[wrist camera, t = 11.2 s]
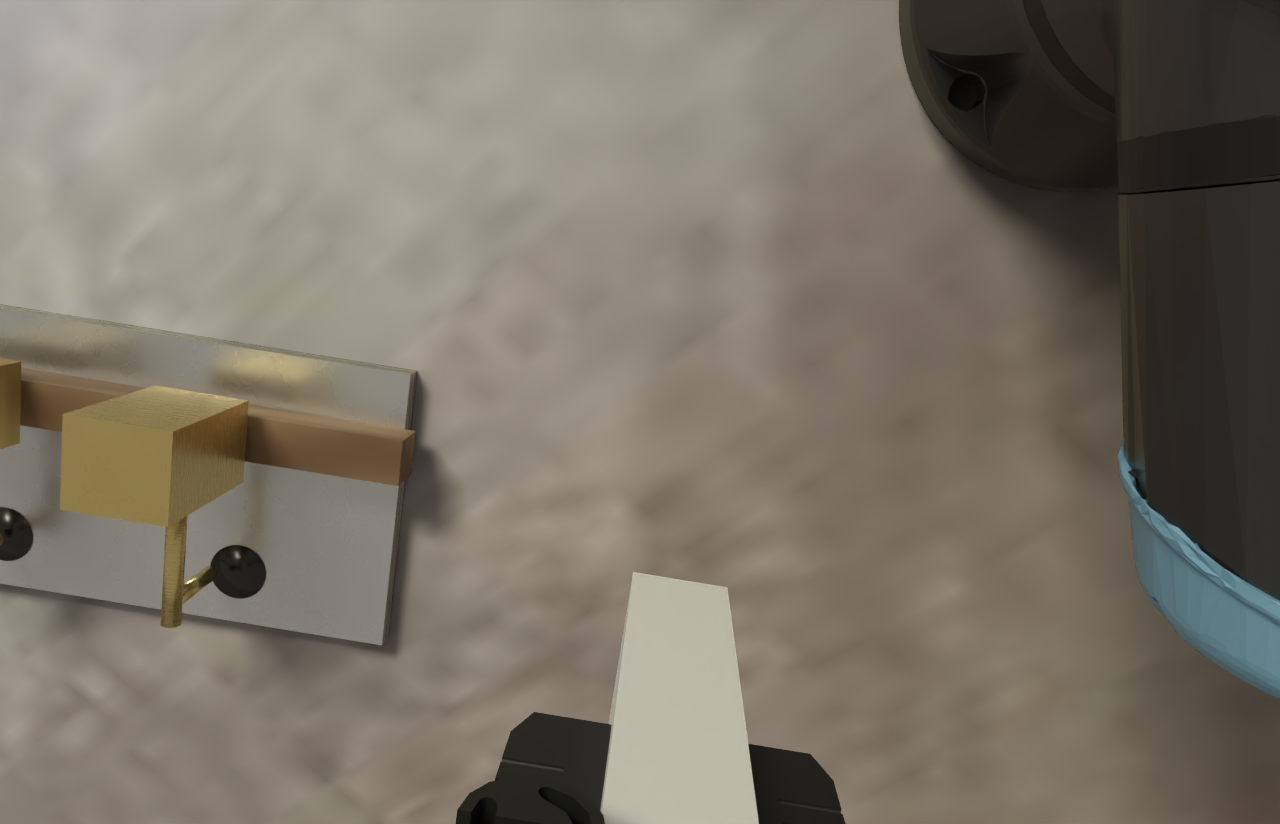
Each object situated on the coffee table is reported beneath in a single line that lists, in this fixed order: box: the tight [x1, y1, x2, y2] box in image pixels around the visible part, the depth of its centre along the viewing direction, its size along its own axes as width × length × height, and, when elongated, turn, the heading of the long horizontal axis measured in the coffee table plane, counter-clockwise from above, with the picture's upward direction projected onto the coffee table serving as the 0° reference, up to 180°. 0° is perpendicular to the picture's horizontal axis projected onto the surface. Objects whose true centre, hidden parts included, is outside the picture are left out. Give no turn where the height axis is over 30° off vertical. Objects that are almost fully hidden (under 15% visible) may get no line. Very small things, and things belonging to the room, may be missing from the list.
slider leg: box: [60, 386, 249, 628], centre depth 38 cm, size 10×4×8 cm, turn 171°
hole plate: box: [0, 304, 417, 645], centre depth 43 cm, size 13×21×1 cm, turn 81°
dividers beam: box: [0, 358, 416, 545], centre depth 39 cm, size 10×21×8 cm, turn 81°
